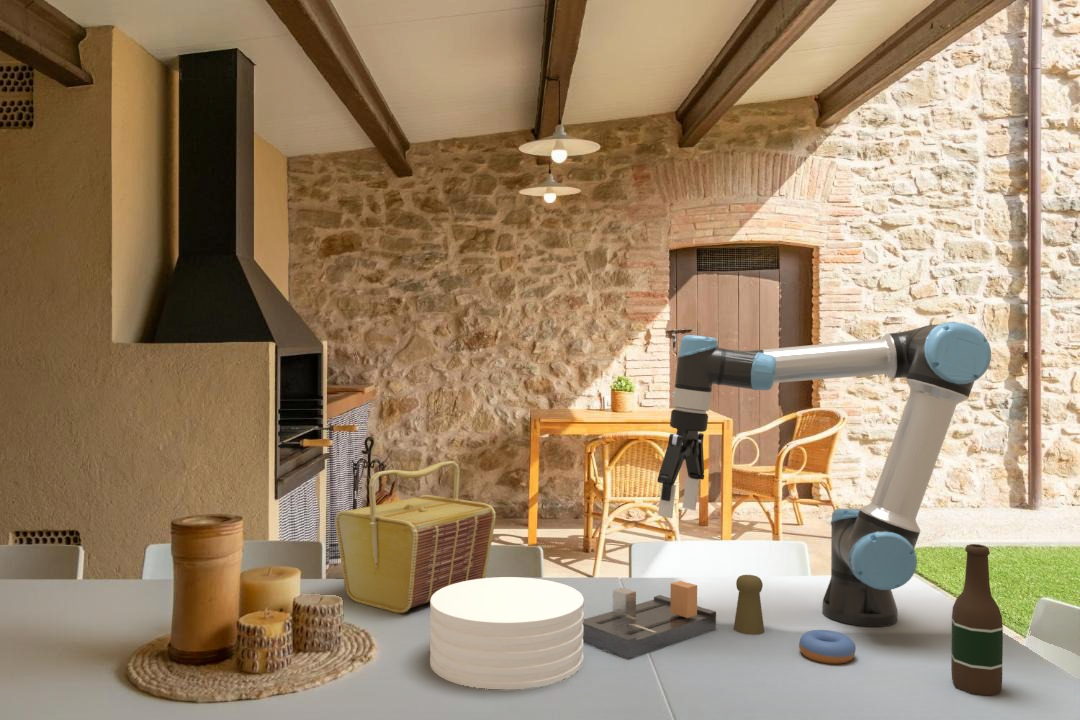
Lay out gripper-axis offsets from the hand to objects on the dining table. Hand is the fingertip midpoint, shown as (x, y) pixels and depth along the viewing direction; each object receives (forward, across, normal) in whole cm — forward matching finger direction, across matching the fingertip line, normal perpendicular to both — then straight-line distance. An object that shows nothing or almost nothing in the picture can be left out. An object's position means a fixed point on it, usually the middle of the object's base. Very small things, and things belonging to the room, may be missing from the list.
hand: (677, 512), depth 169 cm
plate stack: (+27, +32, -17) cm, 46 cm away
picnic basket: (+30, +9, -57) cm, 65 cm away
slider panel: (+24, +6, -1) cm, 25 cm away
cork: (+22, -7, +16) cm, 28 cm away
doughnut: (+21, 0, +32) cm, 38 cm away
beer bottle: (+18, +2, +57) cm, 60 cm away
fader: (+20, +1, +4) cm, 20 cm away
